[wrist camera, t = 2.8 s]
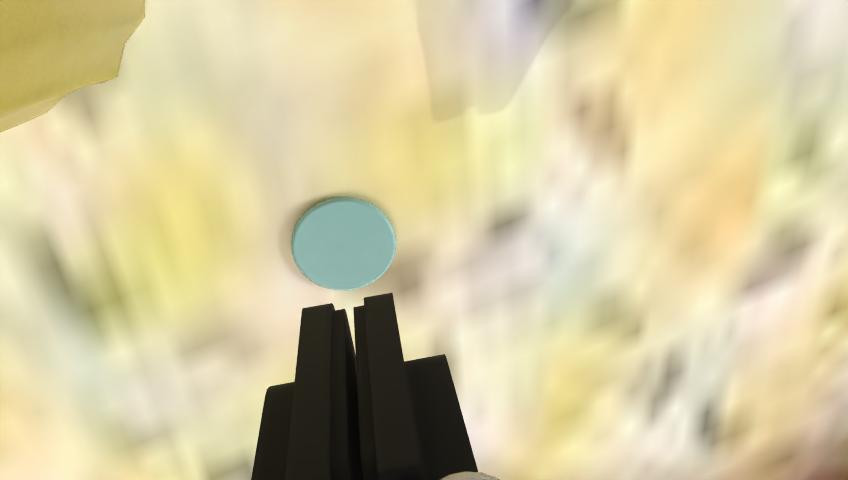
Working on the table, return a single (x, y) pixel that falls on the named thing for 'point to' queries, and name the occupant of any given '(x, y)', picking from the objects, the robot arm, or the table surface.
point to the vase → (58, 50)
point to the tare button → (343, 243)
